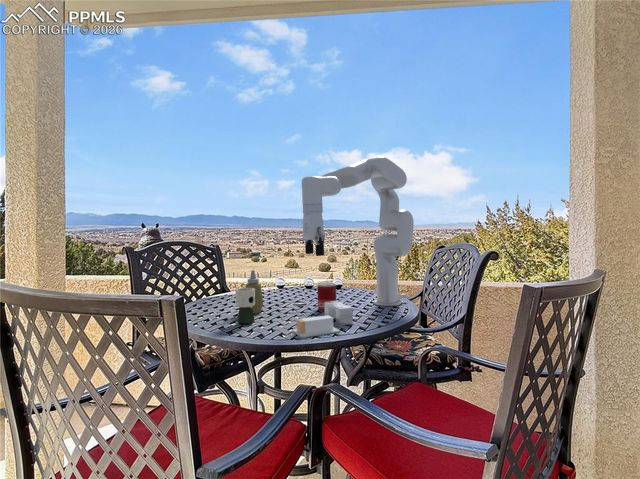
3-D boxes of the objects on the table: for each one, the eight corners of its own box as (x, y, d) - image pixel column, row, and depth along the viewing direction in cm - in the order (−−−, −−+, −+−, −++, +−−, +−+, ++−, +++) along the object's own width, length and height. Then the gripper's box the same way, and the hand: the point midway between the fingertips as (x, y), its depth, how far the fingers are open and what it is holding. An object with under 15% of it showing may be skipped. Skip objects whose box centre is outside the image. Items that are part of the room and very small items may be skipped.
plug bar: (328, 326, 137) (328, 315, 137) (333, 329, 133) (333, 317, 133) (296, 330, 132) (296, 319, 132) (300, 333, 129) (300, 321, 128)
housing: (336, 315, 155) (335, 300, 155) (352, 323, 142) (352, 307, 142) (324, 317, 153) (324, 302, 153) (340, 325, 140) (340, 308, 140)
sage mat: (328, 326, 140) (328, 324, 140) (340, 332, 132) (339, 330, 132) (292, 331, 134) (292, 329, 134) (301, 337, 126) (301, 336, 126)
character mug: (250, 327, 141) (249, 291, 140) (231, 326, 142) (230, 291, 141) (259, 319, 151) (258, 286, 151) (242, 319, 152) (241, 286, 152)
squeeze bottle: (265, 310, 168) (264, 269, 167) (261, 314, 160) (259, 271, 159) (247, 310, 168) (246, 269, 168) (241, 314, 160) (240, 271, 160)
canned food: (336, 311, 164) (336, 285, 163) (317, 311, 164) (317, 285, 163) (336, 307, 171) (335, 282, 171) (318, 307, 172) (317, 282, 171)
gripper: (295, 210, 153) (297, 253, 154) (312, 209, 137) (314, 257, 138) (312, 210, 156) (314, 252, 157) (331, 208, 140) (333, 255, 141)
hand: (314, 254), depth 147 cm, fingers open, 9 cm apart
